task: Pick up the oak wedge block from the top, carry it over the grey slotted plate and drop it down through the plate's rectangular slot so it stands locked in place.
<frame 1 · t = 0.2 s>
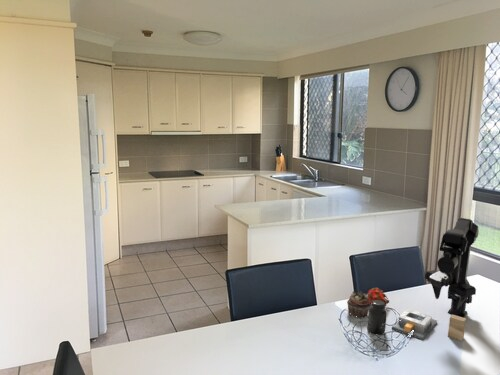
hand: (446, 303, 162), 14 cm above the table, tool pointing down, fingers open, 9 cm apart
oak wedge: (455, 337, 165), on the table
supplement bottle: (376, 331, 168), on the table
cupcake: (357, 314, 182), on the table
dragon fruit: (376, 306, 190), on the table
grey slotted plate: (414, 325, 173), on the table
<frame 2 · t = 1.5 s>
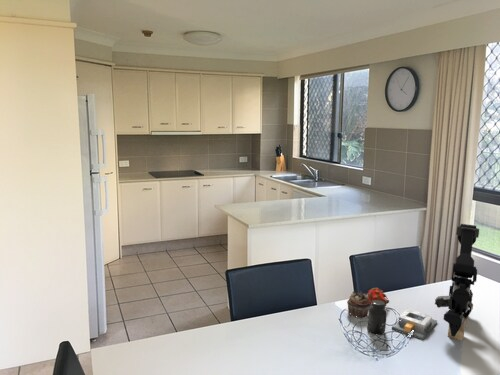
hand: (456, 331, 165), 2 cm above the table, tool pointing down, fingers open, 9 cm apart
nothing on the table moved.
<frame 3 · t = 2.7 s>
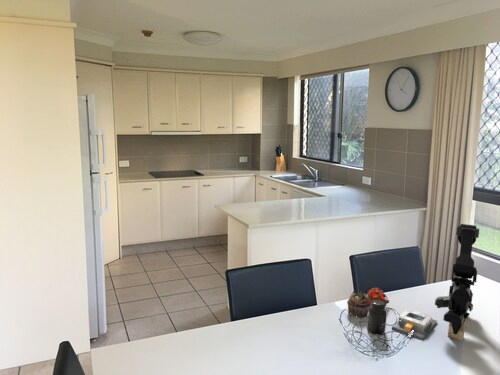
hand: (456, 332, 165), 2 cm above the table, tool pointing down, fingers closed on oak wedge, 3 cm apart
oak wedge: (455, 337, 165), on the table, touching gripper
everything else where it was.
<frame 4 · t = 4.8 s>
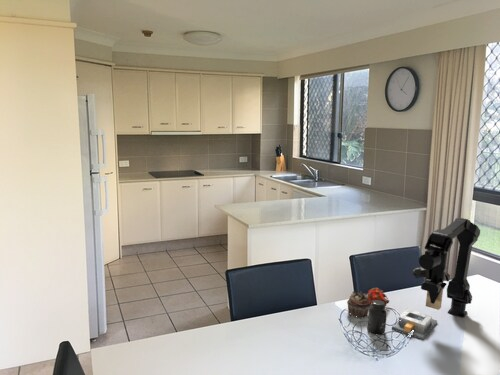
hand: (433, 301, 168), 12 cm above the table, tool pointing down, fingers closed on oak wedge, 3 cm apart
oak wedge: (433, 306, 168), point 10 cm above the table, touching gripper
everything else where it was.
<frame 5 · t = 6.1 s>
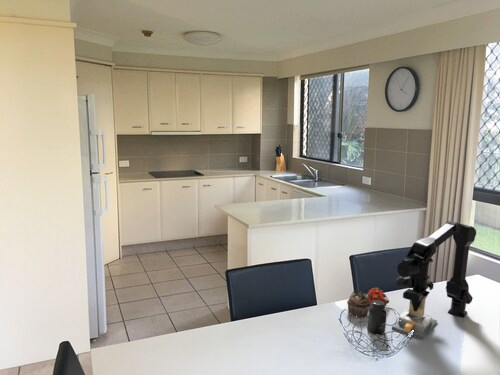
hand: (416, 309, 172), 7 cm above the table, tool pointing down, fingers closed on oak wedge, 3 cm apart
oak wedge: (416, 314, 172), point 5 cm above the table, touching gripper
everything else where it was.
when the fingers open (6 cm above the table, at t = 6.9 s): oak wedge drops 3 cm, resting on grey slotted plate.
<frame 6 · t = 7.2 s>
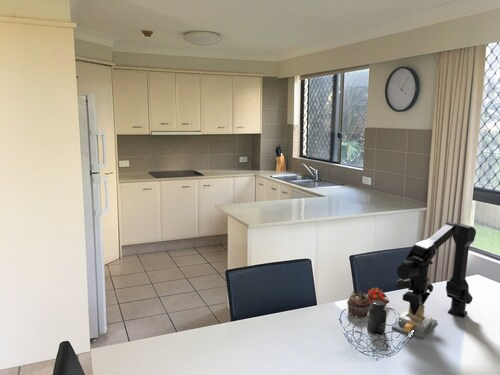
hand: (416, 312, 172), 6 cm above the table, tool pointing down, fingers open, 6 cm apart
oak wedge: (415, 323, 173), point 1 cm above the table, touching grey slotted plate
everything else where it was.
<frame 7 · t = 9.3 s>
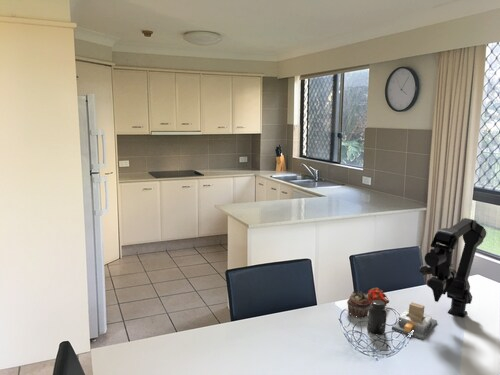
hand: (440, 297, 173), 12 cm above the table, tool pointing down, fingers open, 9 cm apart
nothing on the table moved.
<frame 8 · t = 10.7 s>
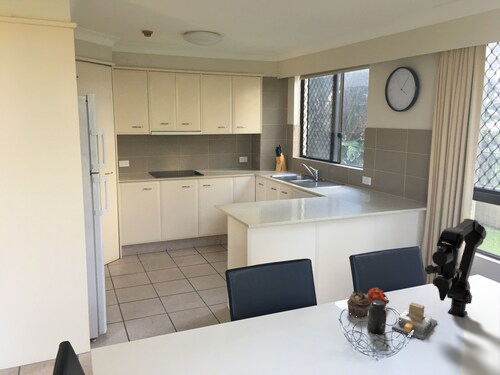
hand: (445, 297, 173), 12 cm above the table, tool pointing down, fingers open, 9 cm apart
nothing on the table moved.
at the end: oak wedge 0.0 cm off-centre on the grey slotted plate, point 1.0 cm above the grey slotted plate's base; oak wedge tilted 0°; the gripper is holding nothing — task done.
